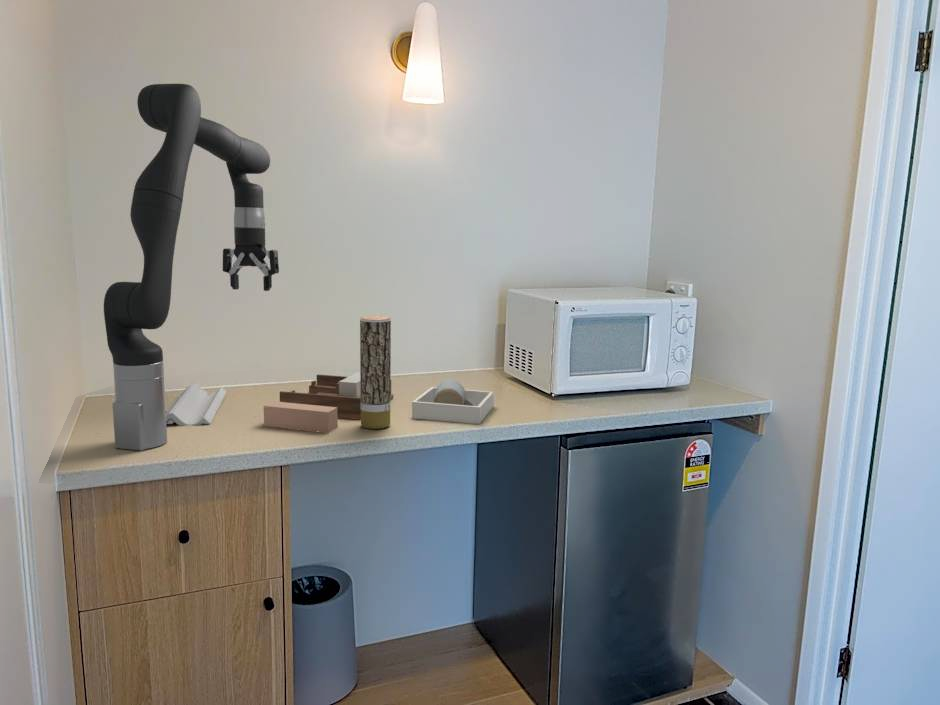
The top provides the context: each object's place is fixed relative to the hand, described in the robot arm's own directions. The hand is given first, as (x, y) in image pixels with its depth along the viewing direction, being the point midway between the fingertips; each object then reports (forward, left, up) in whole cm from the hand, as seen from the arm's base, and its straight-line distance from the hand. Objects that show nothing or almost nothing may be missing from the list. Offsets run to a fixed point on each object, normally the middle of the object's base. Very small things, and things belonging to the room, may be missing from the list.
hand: (251, 290), depth 186 cm
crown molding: (-16, +8, -29) cm, 34 cm away
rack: (-2, -24, -28) cm, 37 cm away
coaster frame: (0, -54, -28) cm, 61 cm away
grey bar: (-2, -30, -25) cm, 39 cm away
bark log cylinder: (-17, -40, -28) cm, 52 cm away
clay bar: (-23, -24, -28) cm, 44 cm away
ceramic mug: (0, -55, -28) cm, 62 cm away
